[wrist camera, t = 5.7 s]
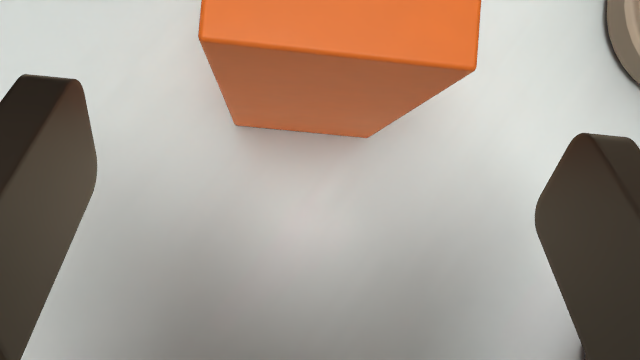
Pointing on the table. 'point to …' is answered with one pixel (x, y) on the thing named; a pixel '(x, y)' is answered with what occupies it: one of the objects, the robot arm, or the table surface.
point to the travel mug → (625, 33)
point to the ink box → (336, 59)
